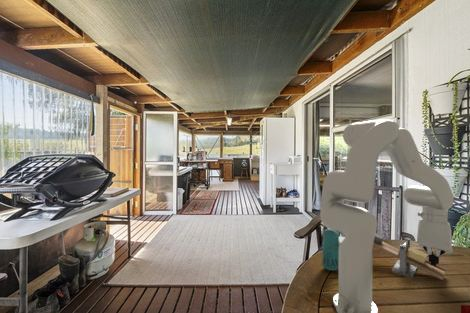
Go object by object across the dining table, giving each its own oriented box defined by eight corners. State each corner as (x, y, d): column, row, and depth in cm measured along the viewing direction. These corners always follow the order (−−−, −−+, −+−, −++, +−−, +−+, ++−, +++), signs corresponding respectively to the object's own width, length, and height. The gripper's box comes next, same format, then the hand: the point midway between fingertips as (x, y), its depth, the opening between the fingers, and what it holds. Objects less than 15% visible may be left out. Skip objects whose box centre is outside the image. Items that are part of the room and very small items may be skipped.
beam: (442, 280, 90) (447, 268, 89) (363, 241, 108) (366, 231, 107) (444, 273, 95) (448, 261, 94) (367, 237, 113) (371, 227, 112)
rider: (423, 266, 95) (426, 258, 94) (405, 257, 99) (407, 249, 98) (424, 261, 98) (427, 254, 97) (407, 253, 102) (409, 246, 101)
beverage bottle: (320, 272, 98) (321, 223, 98) (323, 265, 104) (323, 218, 104) (338, 275, 95) (338, 225, 95) (339, 268, 101) (340, 220, 101)
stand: (412, 278, 93) (413, 249, 93) (391, 272, 98) (392, 244, 98) (417, 266, 103) (418, 239, 103) (398, 261, 108) (398, 235, 107)
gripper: (409, 216, 96) (408, 261, 97) (460, 223, 86) (459, 275, 86) (412, 212, 102) (411, 255, 102) (461, 219, 91) (460, 267, 92)
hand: (433, 264), depth 94 cm, fingers closed
